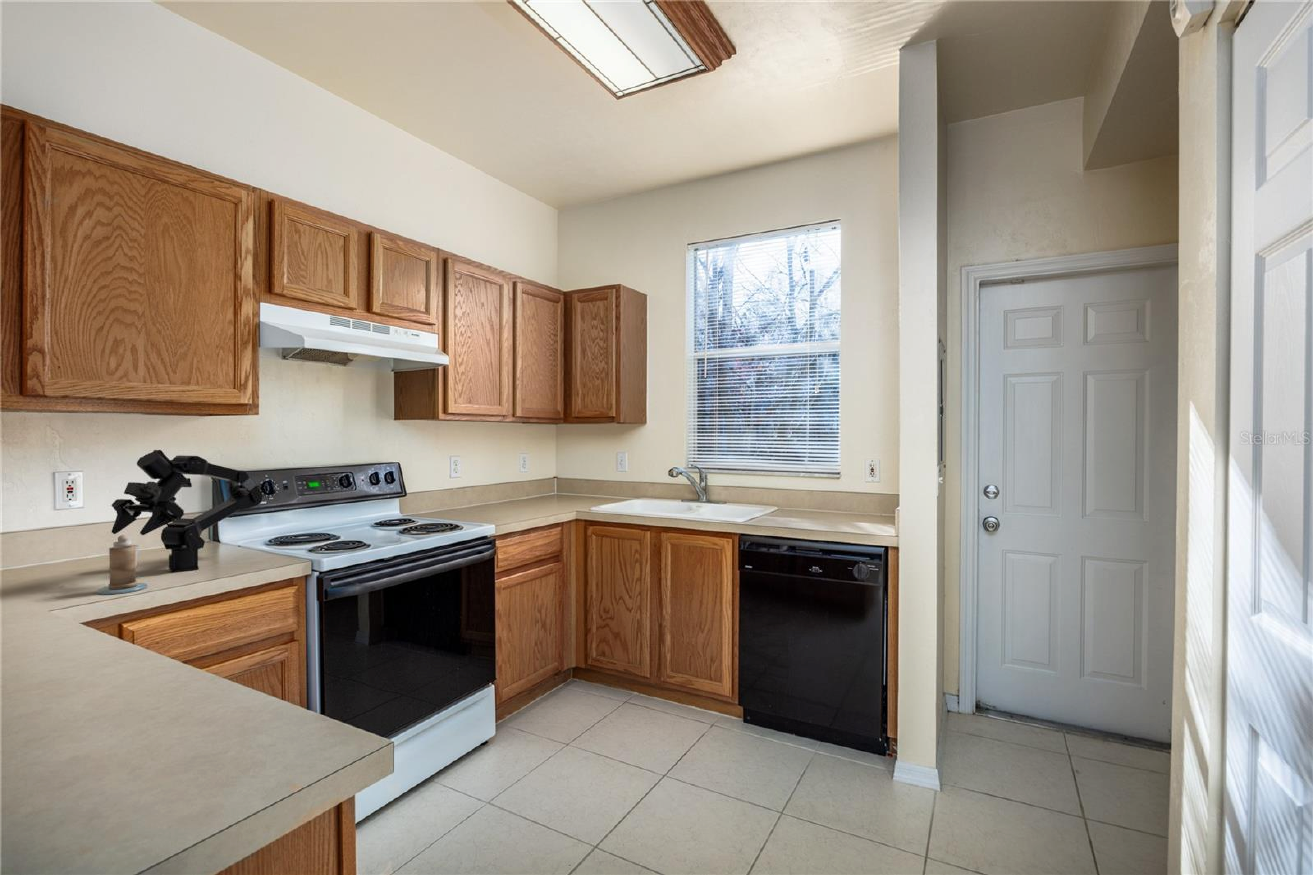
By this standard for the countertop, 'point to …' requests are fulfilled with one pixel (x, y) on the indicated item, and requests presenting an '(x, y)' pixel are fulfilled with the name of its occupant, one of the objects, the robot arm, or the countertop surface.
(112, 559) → the pepper mill
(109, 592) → the trivet
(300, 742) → the countertop surface
